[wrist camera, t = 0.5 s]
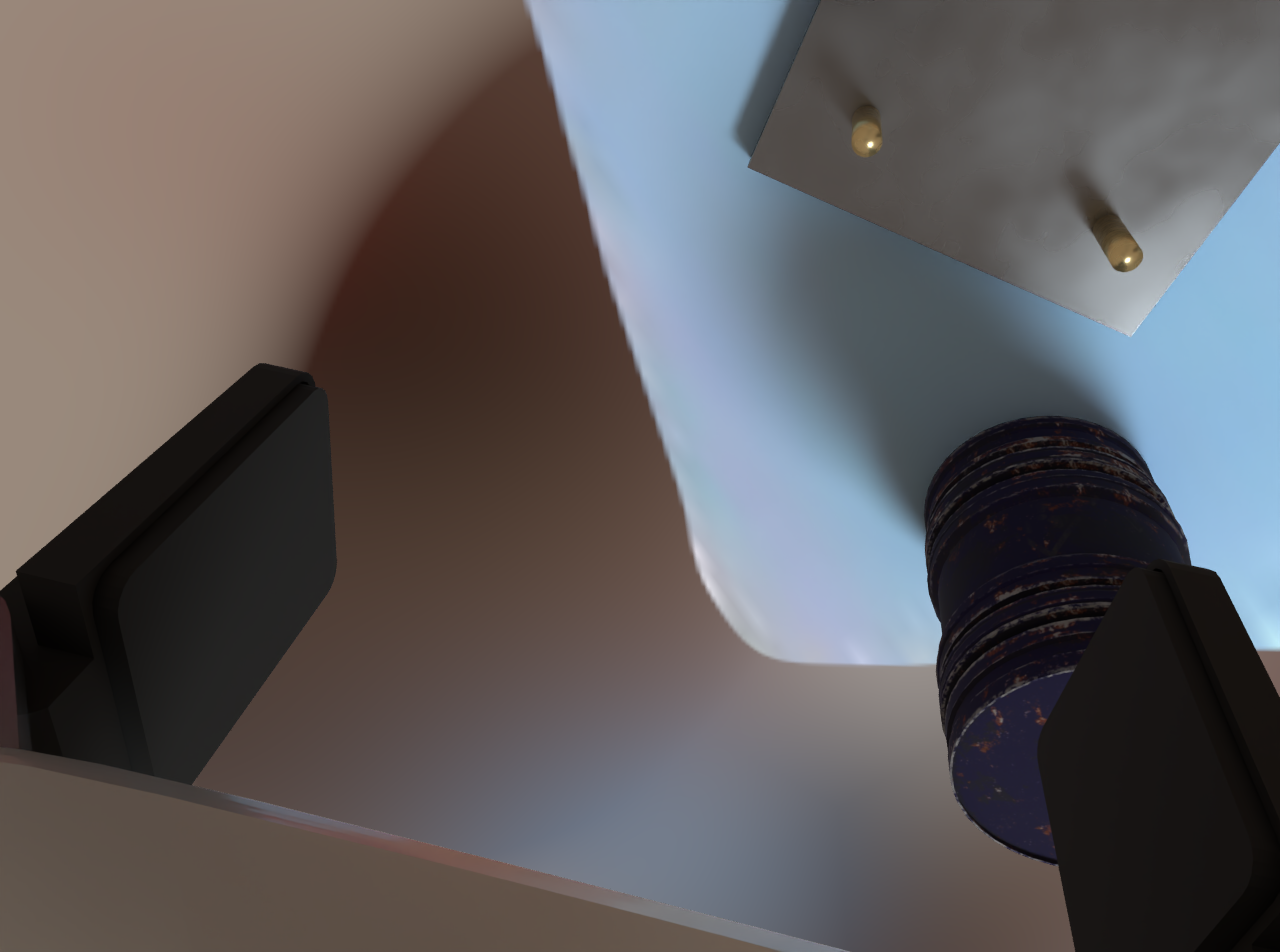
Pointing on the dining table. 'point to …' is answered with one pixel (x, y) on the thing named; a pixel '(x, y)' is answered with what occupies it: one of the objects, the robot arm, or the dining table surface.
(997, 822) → the storage jar
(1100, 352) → the dining table surface
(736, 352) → the dining table surface
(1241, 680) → the robot arm
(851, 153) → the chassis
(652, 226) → the dining table surface
